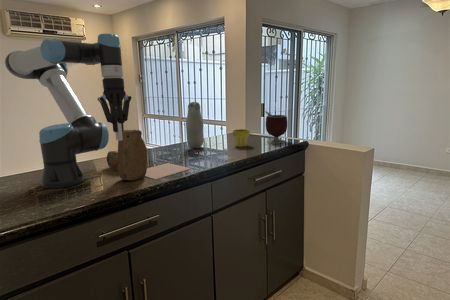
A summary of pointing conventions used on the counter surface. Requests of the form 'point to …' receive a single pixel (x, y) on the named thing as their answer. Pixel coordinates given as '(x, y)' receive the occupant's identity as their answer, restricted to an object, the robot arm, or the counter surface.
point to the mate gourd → (276, 127)
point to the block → (132, 156)
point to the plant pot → (241, 137)
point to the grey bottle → (194, 126)
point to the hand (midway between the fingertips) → (119, 140)
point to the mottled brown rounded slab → (112, 159)
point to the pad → (164, 170)
